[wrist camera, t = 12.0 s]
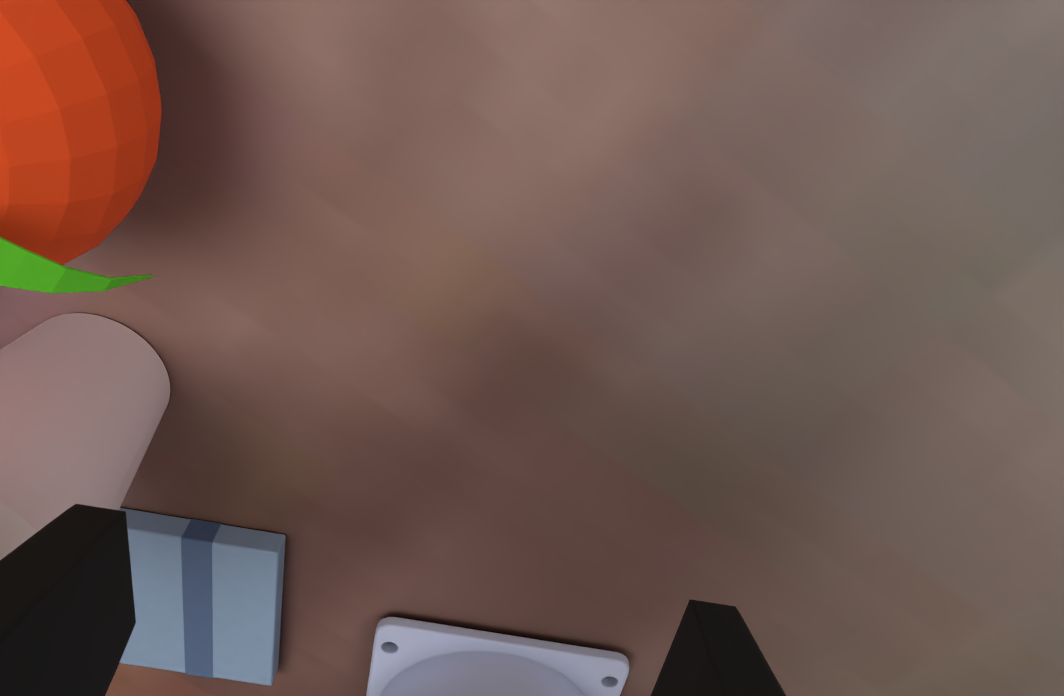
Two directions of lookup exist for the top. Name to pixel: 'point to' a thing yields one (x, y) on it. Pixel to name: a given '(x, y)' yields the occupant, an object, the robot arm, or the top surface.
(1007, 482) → the top surface
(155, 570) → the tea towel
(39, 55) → the clementine
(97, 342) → the smoothie
